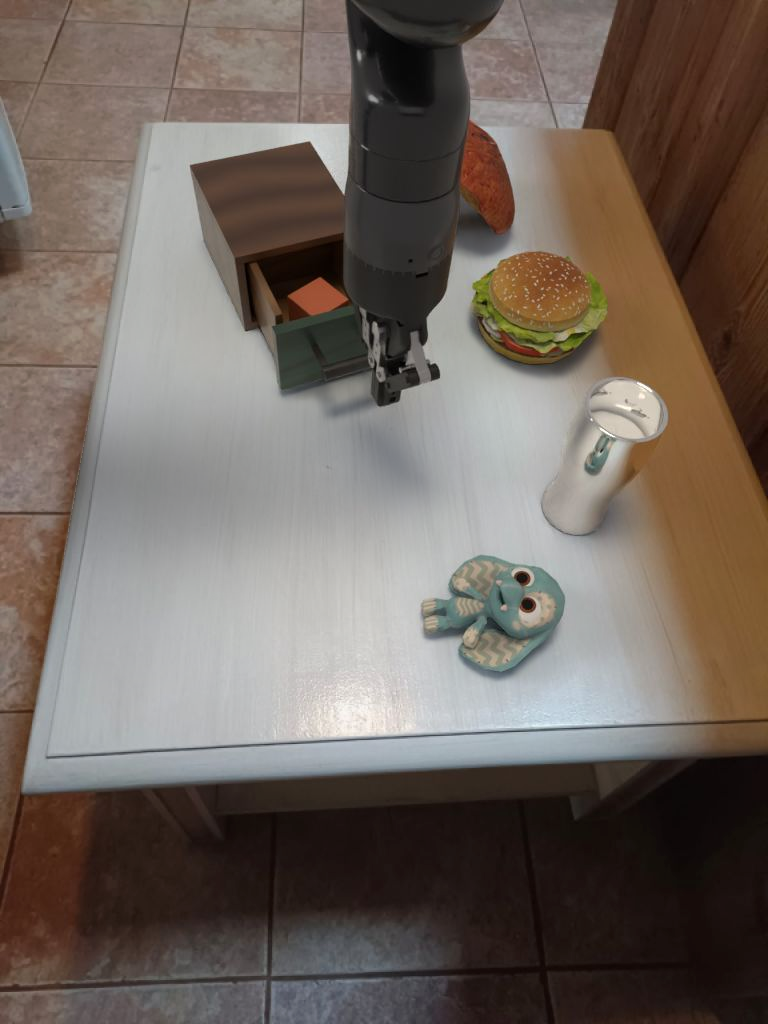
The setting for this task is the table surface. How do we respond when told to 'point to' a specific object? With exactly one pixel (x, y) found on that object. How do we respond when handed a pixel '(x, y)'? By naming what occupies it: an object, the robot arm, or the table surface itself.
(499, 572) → the stuffed animal
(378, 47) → the robot arm
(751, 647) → the table surface
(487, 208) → the mushroom
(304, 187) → the cabinet
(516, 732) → the table surface
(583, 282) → the food
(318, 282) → the block
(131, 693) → the table surface
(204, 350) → the table surface
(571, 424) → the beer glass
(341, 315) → the drawer
